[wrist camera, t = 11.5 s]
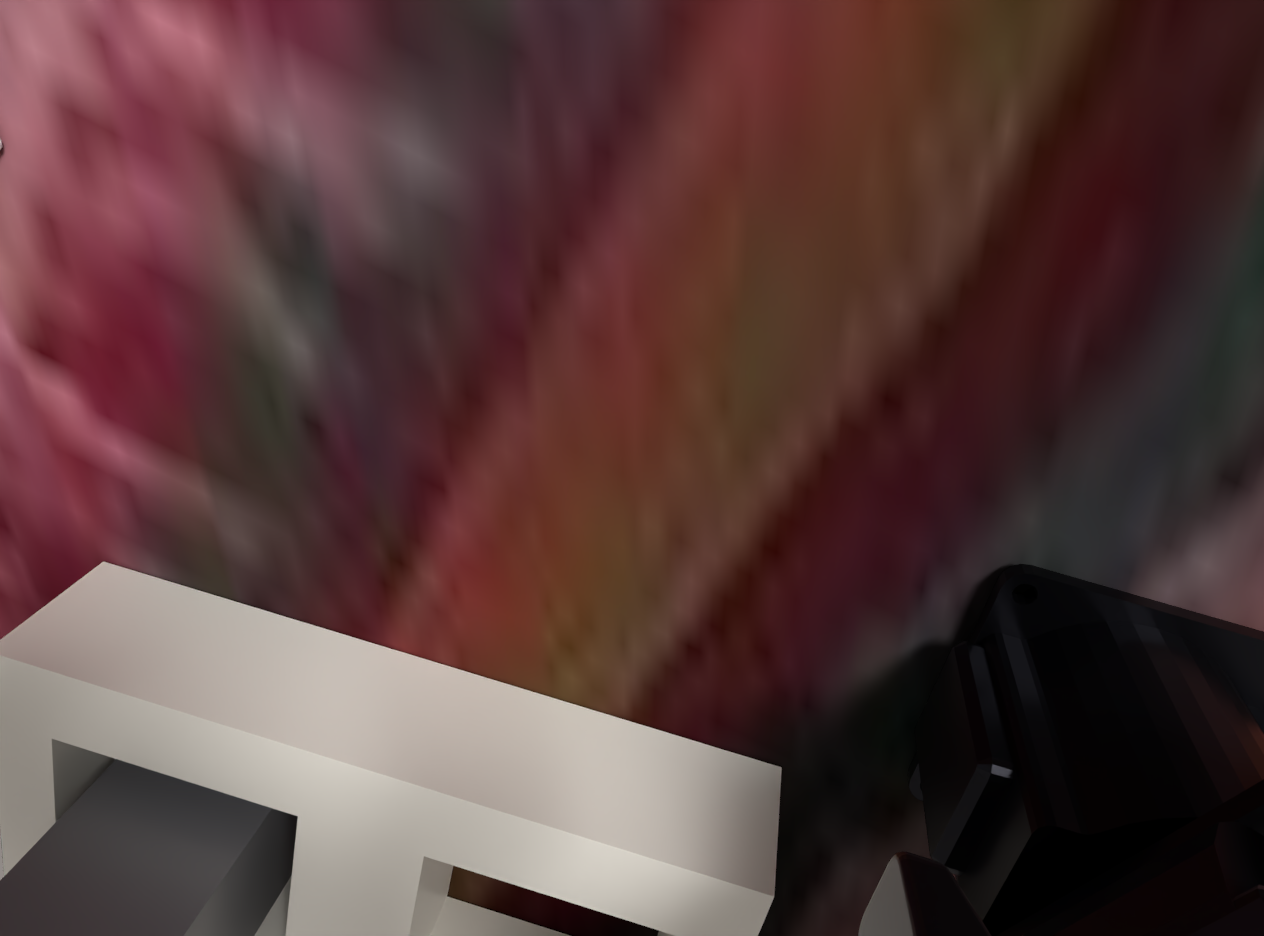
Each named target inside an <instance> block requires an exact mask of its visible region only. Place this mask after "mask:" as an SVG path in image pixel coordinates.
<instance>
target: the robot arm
mask: <svg viewBox="0 0 1264 936" xmlns="http://www.w3.org/2000/svg"><path fill="white" fill-rule="evenodd" d="M1021 584H1030V585H1032V586H1034V588H1033V589H1032V590H1031V591H1030V592H1029V593H1027V594H1024V595H1017V594H1015V593H1013V592H1012V591H1013V590H1014V589H1015V588H1016V586H1019V585H1021ZM915 739H916V747H917V752H916V754H915V757H914V759H913V761H912V763H911V765H910V767H909V771H908V782H909V788H910V791H911V793H912V794H913V795H914V796H915V797H916V798H917V799H919V800H921V801H923V803H924V811H925V819H926V827H927V835H928V843H929V851H930V856H931V858H932V860H931V859H928V858H925V857H921V856H918V855H915V854H912V853H908V852H898V853H896V854H895V855H894V856H893V857H892V858H891V859H890V861H889V863H888V865H887V867H886V869H885V871H884V873H883V875H882V877H881V879H880V881H879V883H878V885H877V888H876V890H875V892H874V894H873V896H872V898H871V900H870V902H869V904H868V906H867V908H866V910H865V912H864V915H863V918H862V921H861V924H860V929H859V934H858V936H1264V632H1263V631H1259V630H1256V629H1252V628H1249V627H1245V626H1242V625H1238V624H1235V623H1231V622H1228V621H1224V620H1221V619H1217V618H1214V617H1210V616H1207V615H1203V614H1200V613H1196V612H1193V611H1189V610H1186V609H1182V608H1179V607H1175V606H1172V605H1168V604H1165V603H1161V602H1158V601H1154V600H1151V599H1147V598H1144V597H1140V596H1137V595H1133V594H1130V593H1126V592H1123V591H1119V590H1116V589H1112V588H1109V587H1105V586H1102V585H1098V584H1095V583H1092V582H1088V581H1085V580H1081V579H1078V578H1074V577H1071V576H1067V575H1064V574H1060V573H1057V572H1053V571H1050V570H1046V569H1043V568H1039V567H1036V566H1032V565H1025V564H1019V565H1014V566H1011V567H1009V568H1008V569H1006V570H1004V571H1003V572H1002V574H1001V575H1000V576H999V578H998V580H997V582H996V584H995V586H994V588H993V590H992V592H991V594H990V597H989V599H988V601H987V603H986V605H985V607H984V609H983V612H982V614H981V616H980V618H979V620H978V622H977V624H976V626H975V629H974V631H973V633H972V635H971V637H970V639H969V641H963V642H961V643H959V644H958V645H956V646H954V647H952V649H951V651H950V653H949V656H948V658H947V660H946V662H945V664H944V666H943V669H942V671H941V673H940V675H939V677H938V679H937V682H936V684H935V686H934V688H933V690H932V692H931V695H930V697H929V699H928V701H927V703H926V705H925V708H924V710H923V712H922V714H921V716H920V718H919V721H918V723H917V725H916V727H915ZM952 874H954V875H956V880H955V878H954V876H953V875H952Z"/></svg>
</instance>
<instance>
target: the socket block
mask: <svg viewBox="0 0 1264 936" xmlns="http://www.w3.org/2000/svg"><path fill="white" fill-rule="evenodd" d="M116 759H118V760H121V761H124V762H127V763H131V764H134V765H137V766H140V767H143V768H146V769H150V770H153V771H156V772H159V773H162V774H165V775H168V776H172V777H175V778H178V779H181V780H184V781H187V782H191V783H194V784H197V785H200V786H203V787H206V788H210V789H213V790H216V791H219V792H222V793H225V794H229V795H232V796H235V797H238V798H241V799H244V800H248V801H251V802H254V803H257V804H260V805H263V806H267V807H270V808H273V809H276V810H279V811H282V812H286V813H289V814H292V815H295V816H298V819H297V829H296V839H295V848H294V858H293V867H292V875H291V877H290V879H289V880H288V882H287V883H286V885H285V887H284V888H283V890H282V892H281V893H280V895H279V896H278V898H277V900H276V901H275V903H274V904H273V906H272V908H271V909H270V911H269V913H268V914H267V916H266V917H265V919H264V921H263V922H262V924H261V926H260V927H259V929H258V930H257V932H256V934H255V935H254V936H570V935H567V934H564V933H561V932H558V931H554V930H551V929H548V928H545V927H542V926H539V925H536V924H532V923H529V922H526V921H523V920H520V919H517V918H514V917H510V916H507V915H504V914H501V913H498V912H495V911H492V910H488V909H485V908H482V907H479V906H476V905H473V904H470V903H466V902H463V901H460V900H457V899H454V898H451V897H448V896H447V894H448V890H449V885H450V880H451V875H452V870H453V866H456V867H459V868H463V869H466V870H469V871H472V872H475V873H478V874H482V875H485V876H488V877H491V878H494V879H497V880H501V881H504V882H507V883H510V884H513V885H516V886H520V887H523V888H526V889H529V890H532V891H535V892H539V893H542V894H545V895H548V896H551V897H554V898H558V899H561V900H564V901H567V902H570V903H573V904H576V905H580V906H583V907H586V908H589V909H592V910H595V911H599V912H602V913H605V914H608V915H611V916H614V917H618V918H621V919H624V920H627V921H630V922H633V923H637V924H640V925H643V926H646V927H649V928H652V929H656V930H659V932H658V935H657V936H758V934H759V932H760V930H761V927H762V925H763V923H764V920H765V918H766V915H767V913H768V911H769V908H770V906H771V904H772V901H773V899H774V894H775V877H776V859H777V842H778V824H779V807H780V789H781V772H782V767H779V766H776V765H772V764H769V763H766V762H762V761H759V760H756V759H753V758H749V757H746V756H743V755H739V754H736V753H733V752H729V751H726V750H723V749H720V748H716V747H713V746H710V745H706V744H703V743H700V742H697V741H693V740H690V739H687V738H683V737H680V736H677V735H673V734H670V733H667V732H664V731H660V730H657V729H654V728H650V727H647V726H644V725H641V724H637V723H634V722H631V721H627V720H624V719H621V718H617V717H614V716H611V715H608V714H604V713H601V712H598V711H594V710H591V709H588V708H585V707H581V706H578V705H575V704H571V703H568V702H565V701H561V700H558V699H555V698H552V697H548V696H545V695H542V694H538V693H535V692H532V691H529V690H525V689H522V688H519V687H515V686H512V685H509V684H505V683H502V682H499V681H496V680H492V679H489V678H486V677H482V676H479V675H476V674H473V673H469V672H466V671H463V670H459V669H456V668H453V667H449V666H446V665H443V664H440V663H436V662H433V661H430V660H426V659H423V658H420V657H417V656H413V655H410V654H407V653H403V652H400V651H397V650H393V649H390V648H387V647H384V646H380V645H377V644H374V643H370V642H367V641H364V640H361V639H357V638H354V637H351V636H347V635H344V634H341V633H337V632H334V631H331V630H328V629H324V628H321V627H318V626H314V625H311V624H308V623H305V622H301V621H298V620H295V619H291V618H288V617H285V616H281V615H278V614H275V613H272V612H268V611H265V610H262V609H258V608H255V607H252V606H249V605H245V604H242V603H239V602H235V601H232V600H229V599H225V598H222V597H219V596H216V595H212V594H209V593H206V592H202V591H199V590H196V589H193V588H189V587H186V586H183V585H179V584H176V583H173V582H169V581H166V580H163V579H160V578H156V577H153V576H150V575H146V574H143V573H140V572H137V571H133V570H130V569H127V568H123V567H120V566H117V565H113V564H110V563H107V562H104V561H103V562H102V563H101V564H99V565H98V566H97V567H95V568H94V569H93V570H92V571H90V572H89V573H88V574H86V575H85V576H84V577H82V578H81V579H80V580H78V581H77V582H76V583H74V584H73V585H72V586H70V587H69V588H68V589H66V590H65V591H64V592H63V593H61V594H60V595H59V596H57V597H56V598H55V599H53V600H52V601H51V602H49V603H48V604H47V605H45V606H44V607H43V608H41V609H40V610H39V611H37V612H36V613H35V614H34V615H32V616H31V617H30V618H28V619H27V620H26V621H24V622H23V623H22V624H20V625H19V626H18V627H16V628H15V629H14V630H12V631H11V632H10V633H9V634H7V635H6V636H5V637H3V638H2V639H1V640H0V833H1V845H2V858H3V869H4V876H5V875H6V874H7V873H8V872H9V871H10V870H11V869H12V868H13V867H14V866H15V865H16V864H17V863H18V862H19V861H20V859H21V858H22V857H23V856H24V855H25V854H26V853H27V852H28V851H29V850H30V849H31V848H32V847H33V846H34V845H35V844H36V843H37V842H38V841H39V839H40V838H41V837H42V836H43V835H44V834H45V833H46V832H47V831H48V830H49V829H50V828H51V827H52V826H53V825H54V824H55V823H56V822H57V821H58V819H59V818H60V817H61V816H62V815H63V814H64V813H65V812H66V811H67V810H68V809H69V808H70V807H71V806H72V805H73V804H74V803H75V802H76V801H77V799H78V798H79V797H80V796H81V795H82V794H83V793H84V792H85V791H86V790H87V789H88V788H89V787H90V786H91V785H92V784H93V783H94V782H95V781H96V779H97V778H98V777H99V776H100V775H101V774H102V773H103V772H104V771H105V770H106V769H107V768H108V767H109V766H110V765H111V764H112V763H113V762H114V761H115V760H116Z"/></svg>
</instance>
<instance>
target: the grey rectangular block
mask: <svg viewBox="0 0 1264 936" xmlns="http://www.w3.org/2000/svg"><path fill="white" fill-rule="evenodd" d="M297 819H298V816H295V815H292V814H289V813H286V812H282V811H279V810H276V809H273V808H270V807H267V806H263V805H260V804H257V803H254V802H251V801H248V800H244V799H241V798H238V797H235V796H232V795H229V794H225V793H222V792H219V791H216V790H213V789H210V788H206V787H203V786H200V785H197V784H194V783H191V782H187V781H184V780H181V779H178V778H175V777H172V776H168V775H165V774H162V773H159V772H156V771H153V770H150V769H146V768H143V767H140V766H137V765H134V764H131V763H127V762H124V761H121V760H118V759H116V760H115V761H114V762H113V763H112V764H111V765H110V766H109V767H108V768H107V769H106V770H105V771H104V772H103V773H102V774H101V775H100V776H99V777H98V778H97V779H96V781H95V782H94V783H93V784H92V785H91V786H90V787H89V788H88V789H87V790H86V791H85V792H84V793H83V794H82V795H81V796H80V797H79V798H78V799H77V801H76V802H75V803H74V804H73V805H72V806H71V807H70V808H69V809H68V810H67V811H66V812H65V813H64V814H63V815H62V816H61V817H60V818H59V819H58V821H57V822H56V823H55V824H54V825H53V826H52V827H51V828H50V829H49V830H48V831H47V832H46V833H45V834H44V835H43V836H42V837H41V838H40V839H39V841H38V842H37V843H36V844H35V845H34V846H33V847H32V848H31V849H30V850H29V851H28V852H27V853H26V854H25V855H24V856H23V857H22V858H21V859H20V861H19V862H18V863H17V864H16V865H15V866H14V867H13V868H12V869H11V870H10V871H9V872H8V873H7V874H6V875H5V876H4V878H2V880H1V881H0V936H254V935H255V934H256V932H257V930H258V929H259V927H260V926H261V924H262V922H263V921H264V919H265V917H266V916H267V914H268V913H269V911H270V909H271V908H272V906H273V904H274V903H275V901H276V900H277V898H278V896H279V895H280V893H281V892H282V890H283V888H284V887H285V885H286V883H287V882H288V880H289V879H290V877H291V875H292V867H293V858H294V848H295V839H296V829H297Z"/></svg>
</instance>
